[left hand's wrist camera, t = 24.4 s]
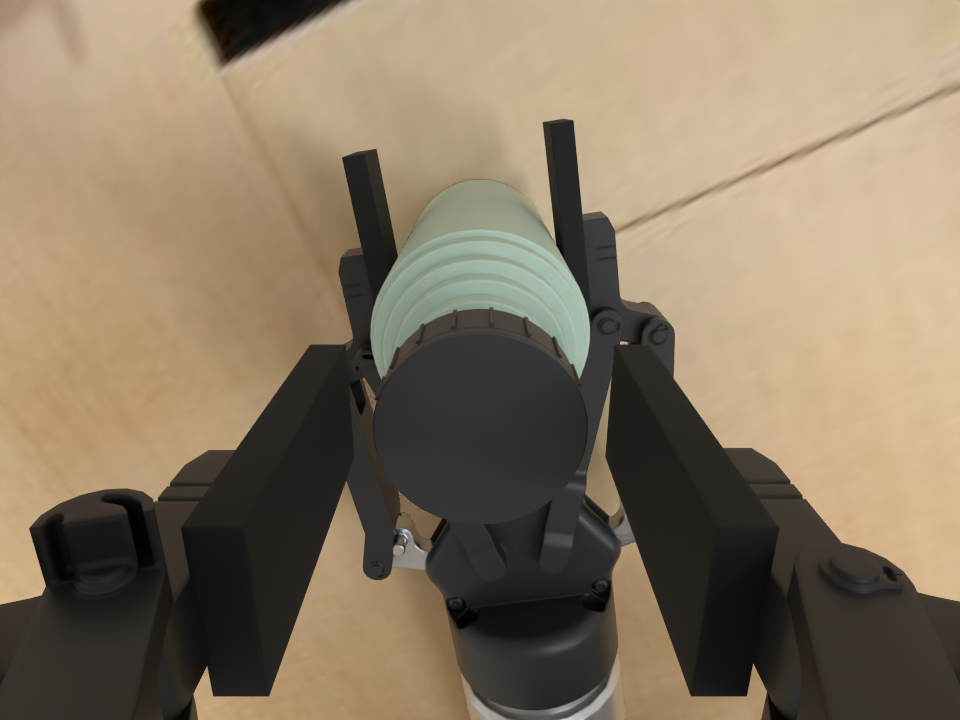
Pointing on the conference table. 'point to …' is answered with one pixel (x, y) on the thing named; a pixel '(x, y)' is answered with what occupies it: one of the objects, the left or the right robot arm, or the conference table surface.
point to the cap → (480, 417)
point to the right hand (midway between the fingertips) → (457, 138)
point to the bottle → (480, 271)
